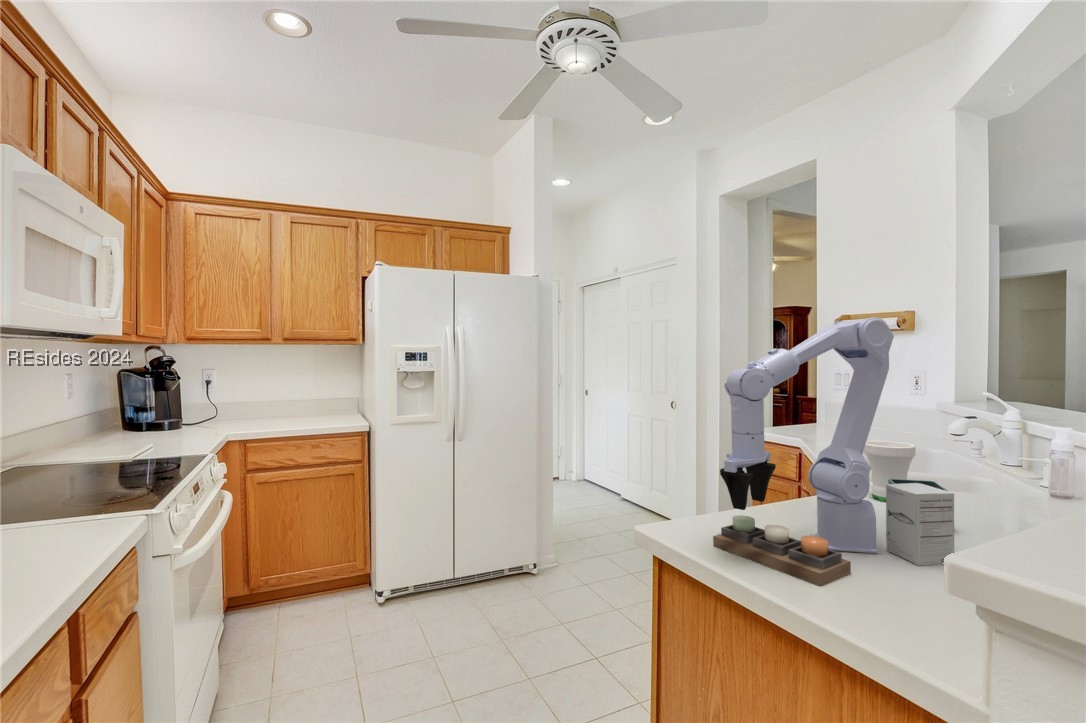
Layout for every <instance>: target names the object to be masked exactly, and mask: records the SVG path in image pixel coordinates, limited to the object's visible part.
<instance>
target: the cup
mask: <svg viewBox="0 0 1086 723" xmlns="http://www.w3.org/2000/svg"><path fill="white" fill-rule="evenodd" d="M916 448H917V447H916V445H914V444H912V443H908V442H902V441H891V440H867V441H866V444H865V448H864V451H863V453H864V455H865V456H866V459H867V460H868V461H867V462H868V464H869V465H870V467H871V470H870V472H871V478H872V485H871V496H872V498H874V499H878V500H879V502H886V484H889V482H888V479H903V480H908V478H907V477H908V472H909V470H910V467H911V466H910V465H911V463H912V461H913V458H915V456H916V451H917V450H916Z"/></svg>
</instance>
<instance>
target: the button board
mask: <svg viewBox="0 0 1086 723" xmlns="http://www.w3.org/2000/svg"><path fill="white" fill-rule="evenodd" d="M720 529H721V531H720V533H719V534H716V535H713V536H712V538H713V540H712V544H713V547H714V548H716V549H719V550H721V551H725V552H728V553H729V554H733V555H736V556H738V557H740V558H744V559H746V560H749V561H751V560H752V561H751V562H754V561H755V562H754V563H757V562H758V563H757V564H759V563H760V564H759V565H762V564H763V566H765V565H766V566H765V567H767V566H768V568H770V567H771V569H773V568H774V569H773V570H776V571H778V572H780V573H781V572H782V573H784V574H786V575H789V576H792V577H794V576H795V578H797V579H800V580H802V579H803V581H805V580H806V582H808V581H809V583H810V582H812V583H811V584H813V583H814V584H813V585H816V584H817V585H816V586H818V585H819V587H821V585H822V586H824V585H826V583H827V584H828V583H831V582H833V580H834V581H835V579H836V580H839V579H841V578H843V577H845V575H846V576H848V575H851V574H852V572H851V571H852V569H851V567H852V565H851V560H848V559H844V558H843V554H842V553H841V552H840V551H837V550H829V549H828V555H826V556H815V555H810V554H807V553H804V552H803V551H802V550H801V539H796V538H793V537H790V536H789V542H788V543H773V542H770V541H767V540H766V539H765V528H764V529H763V528H761V527H757V526H755V531H754V532H739V531H736V530H734V529H733V524H730V525H727V526H722V527H721V528H720ZM840 577H841V578H840Z"/></svg>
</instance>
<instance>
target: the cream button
mask: <svg viewBox="0 0 1086 723" xmlns="http://www.w3.org/2000/svg"><path fill="white" fill-rule="evenodd" d="M764 530H765V539H766V540H767V541H770V542H773V543H788V542H789V537H790V529H789V528H788V527H786V526H783V525H778V524H767V525H765V526H764Z"/></svg>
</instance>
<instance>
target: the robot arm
mask: <svg viewBox="0 0 1086 723" xmlns="http://www.w3.org/2000/svg"><path fill="white" fill-rule="evenodd" d="M894 337H895V335H894V333H893V331H892V330H891V328H890V327H889V325H888V323H887V322H886V321H885V320H884V319H882V318H880V317H877V316H872V317H868V318H861V319H860V318H859V319H853V320H851V319H850V320H838V321H835V322H834V323H832V324H830V325H826V326H824V327H823V329H821V330H819V331H818V332H816V333H815V334H813V335H812V336H810V337H808V338H807V339H805V340H804V341H802V342H801V343H799V344H797V345H796V346H794V347H792V348H790V349H789V350H788V349H786V348H771V349H769V350H767V355H765V356H763V357H760V359H758V360H755V361H753V360H752V361H751V360H750V361H749V362H747V366H746V368H736V369H734V370H732V371H731V372H730V373H729V376H727V379H726V382H725V383H724V384H723V385H724V389H725V392H726V393H727V395H728V396H729V399H730V414H731V415H730V417H731V418H730V421H731V424H730V425H731V452H728V453H726V454H725V455H726V458H727V459H725V460H724V461H723V468H720V469H719V474H720V476H721V478H722V479H723V481H724V483H725V485H726V487H727V490H728V493H729V497H730V502H731V505H732V508H733V509H735V510H736V509H737V510H741V511H745V510H747V509H746V508H747V504H748V494H749V489H750V496H751V500H752V501H757V502H765V499H766V495H767V491H768V487H769V484H770V480H771V477H772V475H773V473H774V472H775V470H776V464H775V463H773V462H772V463H771V451H769V450H765V414H764V413H765V412H764V411H765V409H764V408H765V407H764V403H765V401H764V399H765V398H767V396H768V395H769V393H770V391H771V389H772V388H774V387H776V386H778V385H780V384H781V383H783V382H785V381H787V380H788V379H790V378H792V377H794V376H795V375H797V374H798V373H799V369H800V365H803V364H804V363H807V362H808V361H810V360H812V359H815V358H817V357H819V356H821V355H822V354H825V353H827V352H829V351H831V350H834V352H836V353H837V354H838V355H839V356H840V357H841V358H843V360H844V361H846V362H847V363H848V364H849V365H850V366H851V368H852V370H853V374H852V377H851V380H850V383H849V386H848V390H847V393H846V396H845V398H844V402H843V405H842V408H841V411H840V414H839V417H838V420H837V424H836V428H835V430H834V434H833V436H832V441H831V442H830V444H829V446H827V447H825V448H824V449H822V450H821V451H820V452H819V453H818V456H817V457H816V460H815V461H814V462H813V464H812V465H811V466H810V468H809V469H808V472H807V473H808V474H807V478H808V481H809V485H810V486H811V487H812V488H813V489H814V494H815V495H816V517H817V519H816V520H817V521H816V522H817V523H816V524H817V526H816V527H817V528H816V529H817V533H811V534H810V536H817V537H822V538H824V539H826V540H828V549H829V550H832V551H836V552H852V553H853V552H855V553H867V554H870V553H871V554H878V553H879V550H878V549H877V517H876V516H877V515H876V510H875V507H874V505H873V503H872V502H871V501H870V500H866V499H865V498H866V497H867V495H868V494H869V492H870V486H871V485H870V472H871V467H870V464H869V461H867V460H866V458H865V457H864V456H863V453H864V448H865V444H866V441H868V438H869V434H870V431H871V429H872V428H871V427H872V426H873V425H872V424H873V422H874V418H875V416H876V412H877V408H878V406H879V403H880V401H881V396H882V392H883V389H884V387H885V382H886V380H887V377H888V374H889V371H890V370H889V369H890V350H891V348H892V345H893V344H892V343H893V340H894ZM841 464H845V465H846V466H842V465H841ZM743 469H745V470H746V471H745V470H743Z"/></svg>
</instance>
